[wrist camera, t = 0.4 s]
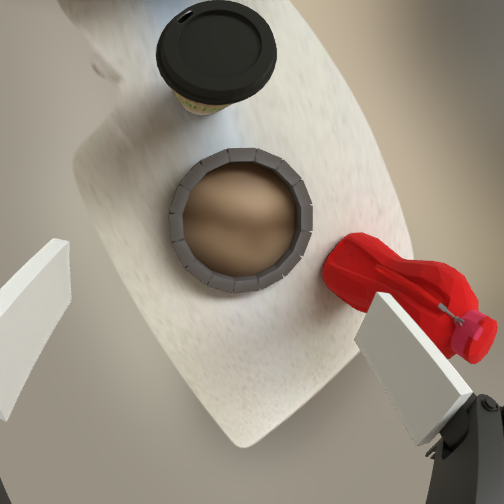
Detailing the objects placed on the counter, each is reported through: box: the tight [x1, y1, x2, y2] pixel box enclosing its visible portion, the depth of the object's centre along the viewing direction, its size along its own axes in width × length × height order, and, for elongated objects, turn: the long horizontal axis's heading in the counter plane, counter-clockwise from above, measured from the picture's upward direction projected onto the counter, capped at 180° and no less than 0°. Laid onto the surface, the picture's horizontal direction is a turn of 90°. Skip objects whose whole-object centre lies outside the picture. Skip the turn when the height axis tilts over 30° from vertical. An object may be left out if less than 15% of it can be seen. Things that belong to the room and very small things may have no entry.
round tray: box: [169, 148, 313, 293], centre depth 37 cm, size 17×17×2 cm
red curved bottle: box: [322, 232, 498, 364], centre depth 31 cm, size 9×11×25 cm
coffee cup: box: [156, 0, 277, 115], centre depth 26 cm, size 10×10×15 cm
